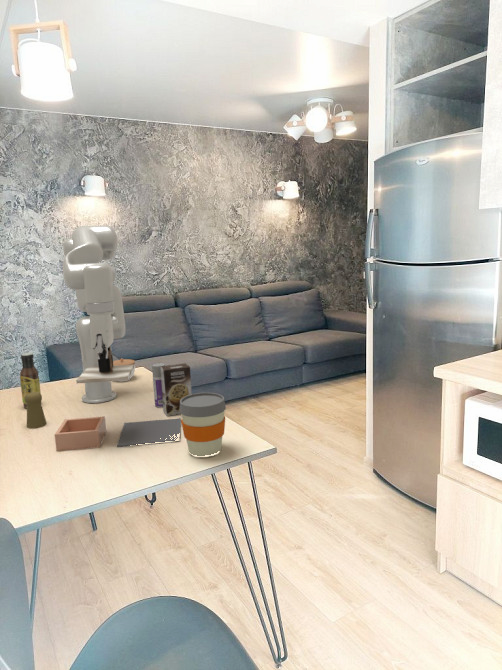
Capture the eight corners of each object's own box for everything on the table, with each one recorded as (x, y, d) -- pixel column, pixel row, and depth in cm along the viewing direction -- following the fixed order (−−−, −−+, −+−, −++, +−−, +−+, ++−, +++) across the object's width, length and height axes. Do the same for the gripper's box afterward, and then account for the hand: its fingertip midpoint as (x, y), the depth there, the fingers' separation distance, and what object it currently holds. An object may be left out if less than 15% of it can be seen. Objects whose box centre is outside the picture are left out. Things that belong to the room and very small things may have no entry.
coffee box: (166, 416, 163) (163, 370, 160) (163, 410, 169) (159, 365, 166) (193, 412, 166) (190, 366, 163) (188, 406, 172) (185, 362, 169)
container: (170, 403, 176) (167, 363, 173) (164, 408, 172) (161, 366, 169) (159, 402, 178) (156, 362, 175) (152, 407, 173) (149, 366, 170)
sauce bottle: (19, 408, 178) (12, 354, 174) (34, 402, 183) (27, 351, 179) (31, 410, 175) (24, 356, 171) (46, 405, 180) (39, 352, 176)
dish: (66, 434, 151) (64, 419, 150) (106, 431, 152) (104, 416, 151) (56, 451, 139) (54, 434, 138) (99, 447, 141) (98, 430, 140)
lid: (87, 370, 150) (85, 348, 149) (134, 367, 151) (132, 345, 150) (76, 383, 136) (73, 359, 135) (127, 380, 138) (125, 356, 136)
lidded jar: (140, 376, 213) (138, 355, 212) (129, 383, 203) (127, 361, 201) (118, 375, 216) (116, 355, 214) (105, 382, 206) (103, 361, 204)
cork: (39, 428, 157) (35, 396, 155) (22, 428, 158) (18, 395, 156) (50, 422, 163) (46, 390, 160) (34, 421, 164) (30, 389, 162)
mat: (124, 424, 158) (124, 422, 158) (180, 419, 160) (180, 418, 160) (117, 447, 140) (116, 445, 140) (180, 441, 143) (180, 440, 142)
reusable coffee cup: (228, 440, 142) (225, 391, 139) (227, 460, 130) (224, 406, 127) (185, 442, 142) (181, 393, 139) (179, 462, 129) (176, 408, 126)
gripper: (93, 305, 148) (99, 363, 151) (79, 313, 132) (86, 378, 135) (118, 303, 149) (123, 362, 152) (108, 311, 132) (114, 376, 136)
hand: (106, 369), depth 144 cm, fingers closed on lid, 3 cm apart
